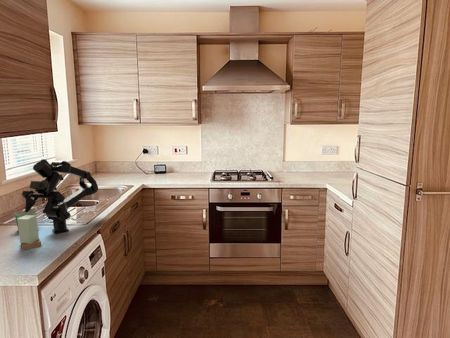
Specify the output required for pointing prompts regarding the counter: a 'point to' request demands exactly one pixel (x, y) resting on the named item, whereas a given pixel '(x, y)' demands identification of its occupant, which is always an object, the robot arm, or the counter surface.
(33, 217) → the sage block
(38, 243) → the tan slab
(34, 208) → the food container
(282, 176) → the counter surface
